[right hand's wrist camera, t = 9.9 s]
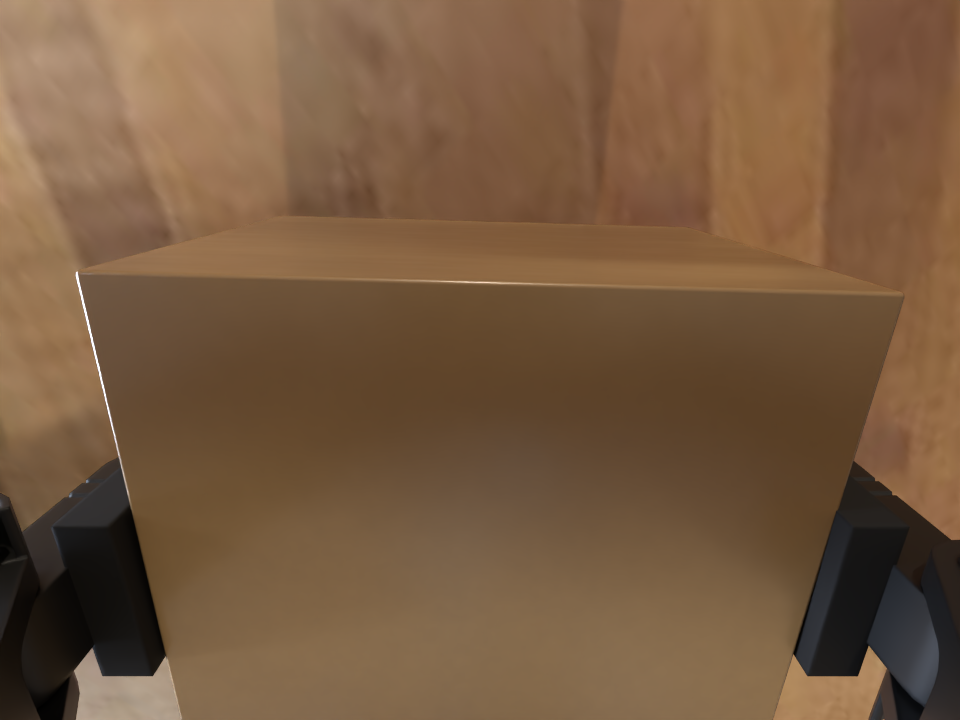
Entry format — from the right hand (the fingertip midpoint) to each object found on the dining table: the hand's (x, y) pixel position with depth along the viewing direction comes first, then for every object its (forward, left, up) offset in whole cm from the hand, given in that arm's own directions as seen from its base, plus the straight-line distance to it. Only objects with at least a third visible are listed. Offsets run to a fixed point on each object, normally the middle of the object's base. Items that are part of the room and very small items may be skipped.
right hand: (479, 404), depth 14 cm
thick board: (+2, -24, -1) cm, 24 cm away
